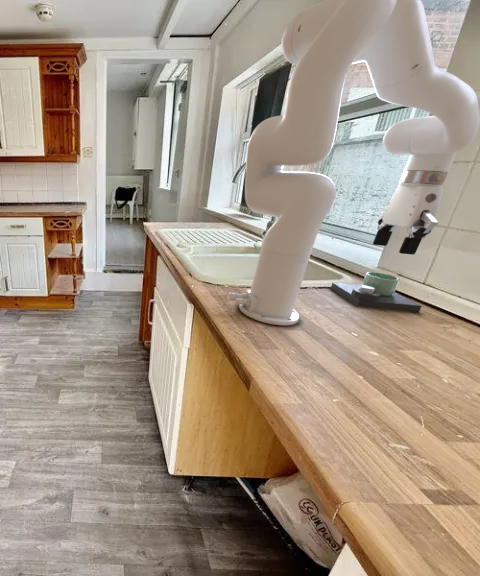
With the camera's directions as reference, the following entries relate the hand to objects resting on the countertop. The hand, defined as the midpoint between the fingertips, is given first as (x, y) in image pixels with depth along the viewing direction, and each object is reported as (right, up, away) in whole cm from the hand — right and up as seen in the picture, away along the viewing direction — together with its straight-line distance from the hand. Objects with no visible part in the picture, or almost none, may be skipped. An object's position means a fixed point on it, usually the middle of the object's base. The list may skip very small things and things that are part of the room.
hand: (392, 249), depth 80 cm
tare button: (-7, -11, 0) cm, 13 cm away
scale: (-2, -13, +4) cm, 14 cm away
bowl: (0, -11, +5) cm, 12 cm away
